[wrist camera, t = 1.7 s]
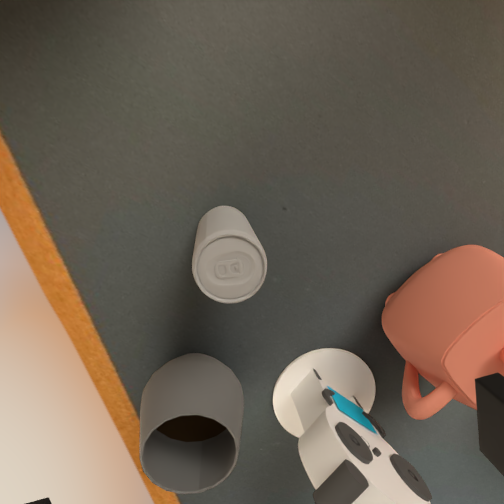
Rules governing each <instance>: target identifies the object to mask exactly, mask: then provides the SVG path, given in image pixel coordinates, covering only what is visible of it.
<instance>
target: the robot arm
mask: <svg viewBox="0 0 504 504" xmlns="http://www.w3.org/2000/svg"><path fill="white" fill-rule="evenodd" d="M475 389H476V403H477V417H478V431H479V445H480V451H481V452H482V453H483V454H484V455H485V456H486V457H487V458H488V459H489V461H490V462H491V463H492V464H493V465H494V466H495V467H496V468H497V469H498V470H499V472H500V473H501V474H502V475H503V476H504V376H502V375H501V374H500V373H494V374H491V375H487V376H483V377H480V378H476V379H475ZM26 504H51V502H50V500H49V498H45V499H41V500H37V501H34V502H30V503H26Z"/></svg>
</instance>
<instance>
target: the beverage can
mask: <svg viewBox="0 0 504 504" xmlns="http://www.w3.org/2000/svg"><path fill="white" fill-rule="evenodd" d="M266 271H267V258H266V255H265V251H264V249H263V247H262V245H261V244H260V242H259V240H258V238H257V236H256V235H255V233H254V231H253V229H252V228H251V226H250V224H249V222H248V220H247V219H246V217H245V215H244V214H243V213H242V212H240V211H239V210H237V209H236V208H234V207H230V206H218V207H215V208H213V209H211V210H210V211H208V212H207V213H206V214H205V215H204V216H203V217H202V218H201V220H200V222H199V224H198V228H197V234H196V240H195V246H194V252H193V258H192V272H193V275H194V278H195V281H196V283H197V285H198V286H199V288H200V289H201V291H202V292H203V293H204V294H206V295H207V296H208V297H209V298H211V299H213V300H215V301H217V302H222V303H237V302H241V301H244V300H246V299H248V298H250V297H251V296H253V295H254V294H255V293H256V292H257V291H258V290H259V289H260V287H261V285H262V284H263V282H264V279H265V276H266Z"/></svg>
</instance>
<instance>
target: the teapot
mask: <svg viewBox="0 0 504 504" xmlns="http://www.w3.org/2000/svg"><path fill="white" fill-rule="evenodd" d="M382 327H383V329H384V332H385V334H386V335H387V337H388V338H389V340H390V342H391V343H392V344H393V346H394V347H395V348H396V350H397V351H398V352H399V354H400V355H401V356H402V357H403V358H404V359H405V360H406V364H405V370H404V377H403V385H402V399H403V404H404V407H405V409H406V411H407V413H408V414H409V415H410V416H411V417H412V418H414V419H417V420H422V419H426V418H429V417H430V416H432V415H434V414H435V413H436V412H438V411H439V410H440V409H442V408H443V407H444V406H445V405H446V404H447V403H448V402H449V401H450V400H451V399H455V400H457V401H459V402H461V403H463V404H465V405H467V406H469V407H471V408H473V409H476V410H477V403H476V389H475V379H476V378H480V377H483V376H487V375H491V374H494V373H500V374H501V375H502V376H504V257H502V256H500V255H498V254H497V253H495V252H493V251H491V250H489V249H487V248H485V247H482V246H479V245H464V246H460V247H456V248H453V249H451V250H449V251H447V252H445V253H441V254H438V255H436V256H434V257H433V259H432V260H431V261H430V262H429V263H427V264H426V265H424V266H423V267H421V268H420V269H419V270H418V271H416V272H415V273H414V274H413V275H412V276H411V277H409V278H408V279H407V280H406V281H405V283H404V284H403V285H402V286H401V287H400V288H399V289H398V290H397V291H396V292H394V293H392V294H390V295H389V296H388V298H387V299H386V302H385V308H384V309H383V312H382ZM418 373H419V374H420V375H421V376H423V377H424V378H425V379H426V380H427V381H429V382H430V383H431V384H432V385H433V386H435V387H436V388H435V389H434V390H433V391H432V392H431V393H429V394H428V395H427V396H425V397H421V394H420V390H419V378H418Z"/></svg>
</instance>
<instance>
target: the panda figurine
mask: <svg viewBox="0 0 504 504" xmlns="http://www.w3.org/2000/svg"><path fill="white" fill-rule="evenodd" d="M375 391H376V387H375V380H374V377H373V374H372V372H371V370H370V369H369V367H368V366H367V365H366V363H365V362H364V361H363V360H362V359H361V358H359V357H358V356H357V355H355V354H353V353H351V352H349V351H346V350H343V349H337V348H323V349H317V350H313V351H310V352H308V353H305V354H303V355H301V356H300V357H298V358H296V359H295V360H294V361H292V362H291V363H290V364H289V365H288V366H287V367H286V368H285V369H284V370H283V372H282V373H281V374H280V376H279V378H278V380H277V382H276V384H275V387H274V391H273V407H274V411H275V415H276V417H277V419H278V421H279V422H280V424H281V425H282V426H283V427H284V428H285V429H286V430H287V431H288V432H289V433H291V434H292V435H294V436H296V437H299V441H298V450H299V454H300V458H301V461H302V463H303V466H304V468H305V470H306V472H307V474H308V476H309V478H310V480H311V482H312V484H313V486H314V488H315V490H316V491H315V492H314V493H313V498H314V501H315V503H316V504H431V503H430V500H431V499H432V496H431V493H430V491H429V489H428V487H427V485H426V484H425V482H424V480H423V479H422V477H421V476H420V474H419V473H418V472H417V470H416V469H415V468H414V467H413V466H412V465H411V464H410V463H409V462H408V461H407V460H405V459H404V458H403V457H401V456H400V455H398V453H397V452H396V451H395V450H394V449H393V448H392V447H391V446H390V445H389V444H388V443H387V442H386V441H385V440H384V439H383V438H384V437H385V436H386V433H385V431H384V430H383V428H382V427H381V426H380V425H379V424H378V423H377V422H376V421H375V420H374V419H373V418H372V417H371V416H370V415H369V414H368V413H369V411H370V410H371V407H372V405H373V402H374V399H375ZM376 429H377V430H378V431H377V430H376Z"/></svg>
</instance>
